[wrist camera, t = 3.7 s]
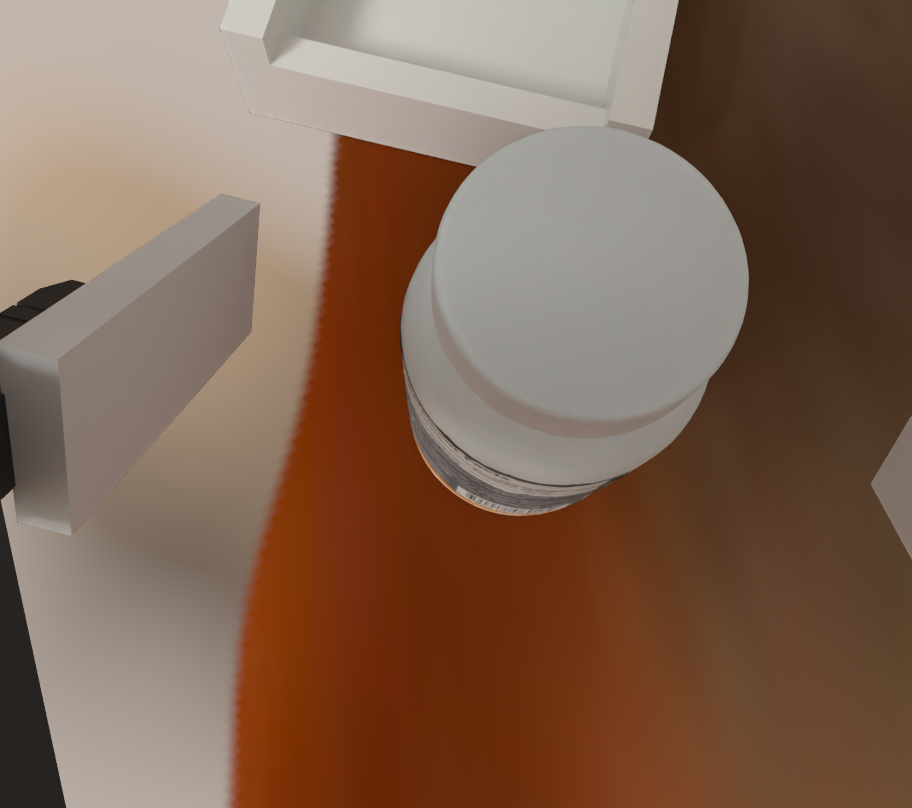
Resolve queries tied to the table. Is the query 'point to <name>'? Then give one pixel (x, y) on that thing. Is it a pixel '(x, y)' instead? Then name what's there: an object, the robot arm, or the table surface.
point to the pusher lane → (451, 67)
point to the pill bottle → (568, 317)
